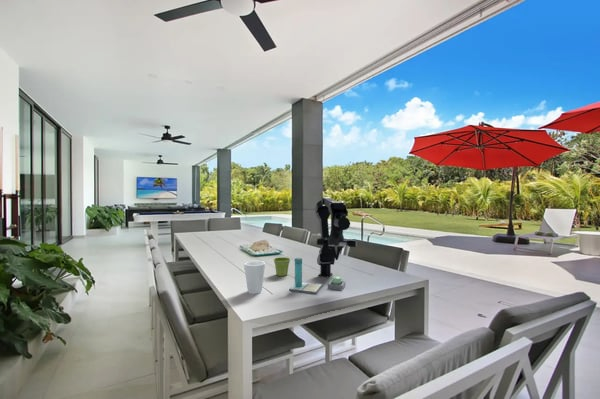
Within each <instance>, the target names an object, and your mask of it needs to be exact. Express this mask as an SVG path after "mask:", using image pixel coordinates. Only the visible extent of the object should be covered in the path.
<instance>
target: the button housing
mask: <svg viewBox="0 0 600 399" xmlns="http://www.w3.org/2000/svg"><path fill="white" fill-rule="evenodd" d="M345 287H346V280H345V281H343V280H341V285H338V284H332V279H331V280H330V281H329V282H328V284H327V289H330V290H331V289H332V290H333V289H334V290H340V291H343V290H344V288H345Z"/></svg>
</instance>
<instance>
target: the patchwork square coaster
mask: <svg viewBox="0 0 600 399" xmlns="http://www.w3.org/2000/svg"><path fill="white" fill-rule="evenodd" d="M323 287H324V284H323V283H313V282H304V281H302V287H295V284H293V285H292V286H291V287H290V288H289V290H288V291H289V292H294V293H295V292H296V293H305V294H311V295H312V294H313V295H317V294H318V293H319V292H320V290H321V289H322V288H323Z"/></svg>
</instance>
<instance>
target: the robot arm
mask: <svg viewBox="0 0 600 399" xmlns="http://www.w3.org/2000/svg"><path fill="white" fill-rule="evenodd" d="M314 212H315V213H316V215H315V216H316V218H318V220H319V227H320V228H319V229H320V237H318V238H317V239H316V245H317V246H321V247H320V248H319V250H318V256H317V258H316V264H317V265H318V266H319V268H320V271H319V272H320V273H319V274H318V275H317V276H318V277H324V278H325V277H326V278H327V277H328V278H330V277H332V275H333V272H331V270H332V266H333V265H335V261H338V260H339V257H340V254H341V252H342V250H343V249H344V248H345V247H346V245H347V246H348V248H356V247H357V246H358V240H357V239H356V238H355V239H354V238H349V239H348V238H347V239H346V240H345V237H344V231H346V230H348V229H349V228H350V227H351V222H350V219H349V218H348V217H347V216H349V214H348V213H349V210H348V208H347V206H346V204H345V202H344V201H336V199H333V198H332V197H330V196H328V197H327V196H325V197H321V198H320V200H319V201H318V202H317V203H316V204H315V208H314ZM329 218H330V228H329ZM329 230H330V231H329ZM331 265H332V266H331Z"/></svg>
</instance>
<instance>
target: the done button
mask: <svg viewBox="0 0 600 399" xmlns="http://www.w3.org/2000/svg"><path fill="white" fill-rule="evenodd" d="M331 280H332V284H338V285H341V281H342V277H341V276H331Z"/></svg>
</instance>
